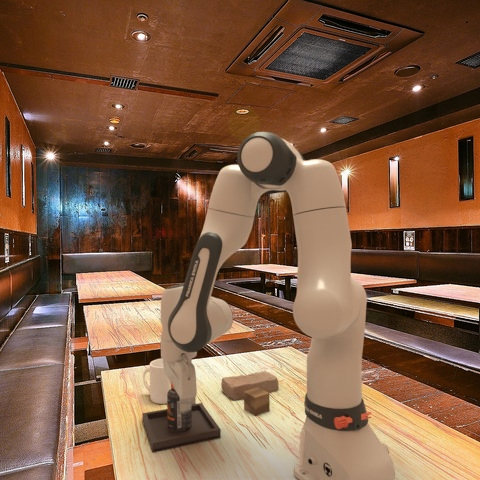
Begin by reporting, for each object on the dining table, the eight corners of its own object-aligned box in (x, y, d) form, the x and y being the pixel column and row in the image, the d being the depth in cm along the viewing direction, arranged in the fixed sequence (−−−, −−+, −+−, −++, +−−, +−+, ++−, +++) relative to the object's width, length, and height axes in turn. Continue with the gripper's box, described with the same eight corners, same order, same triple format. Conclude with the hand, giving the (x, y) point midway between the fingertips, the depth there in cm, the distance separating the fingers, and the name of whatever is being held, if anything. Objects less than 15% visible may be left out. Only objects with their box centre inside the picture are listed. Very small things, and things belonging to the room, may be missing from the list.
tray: (220, 437, 92) (220, 429, 92) (152, 452, 86) (152, 443, 86) (201, 410, 107) (201, 402, 107) (142, 420, 101) (142, 413, 101)
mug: (152, 389, 122) (151, 355, 122) (185, 395, 117) (184, 359, 117) (134, 400, 114) (134, 363, 114) (169, 406, 109) (168, 368, 109)
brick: (265, 382, 127) (265, 368, 127) (280, 391, 120) (279, 376, 120) (220, 392, 120) (220, 377, 120) (232, 402, 112) (232, 386, 112)
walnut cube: (269, 411, 106) (269, 392, 106) (255, 416, 103) (255, 397, 103) (257, 404, 110) (257, 387, 110) (244, 409, 107) (243, 391, 107)
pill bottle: (165, 423, 98) (164, 379, 98) (187, 418, 100) (187, 375, 100) (170, 434, 92) (170, 387, 92) (194, 429, 95) (194, 383, 95)
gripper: (203, 359, 88) (203, 419, 88) (181, 337, 107) (182, 387, 107) (175, 362, 85) (176, 425, 85) (158, 340, 104) (159, 391, 104)
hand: (179, 404), depth 96 cm, fingers closed on pill bottle, 6 cm apart
